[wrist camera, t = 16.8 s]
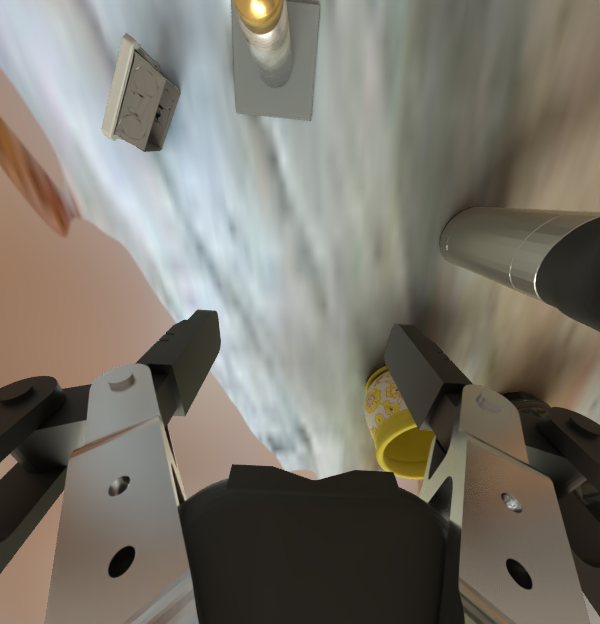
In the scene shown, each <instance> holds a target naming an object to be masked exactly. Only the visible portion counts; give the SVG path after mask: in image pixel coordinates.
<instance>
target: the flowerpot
mask: <svg viewBox="0 0 600 624" xmlns="http://www.w3.org/2000/svg"><path fill="white" fill-rule="evenodd" d="M365 391H366V397H365V403H364V410H365V417H366V421H367V424H368V427H369V430H370V433H371V435H372V437H373V439H374V444H375V447H376V457H377V460H378V462H379V464H380V466H381V467H382V468H383V469H384V470H385V471H387V472H394V475H395V476H398V477H402V478H408V479H424V475H425V471H426V466H427V461H428V457H429V452H430V448H431V443H432V440H433V438H434V436H435V434H434V432H433V431H430V430H419V429H418V427H417V425H416V423H415V421H414V420H413V418H412V416H411V414H410V412H409V410H408V408H407V406H406V404H405V402H404V400H403V398H402V396H401V394H400V392H399V390H398V388H397V386H396V384H395V382H394V380H393V378H392V376H391V374H390V372H389V370H388V368H387V367H386V366H383V367H381V368H380V369H378V370H377V371H375V372H374V373H373V374H372V376H371V377H370V378H369V380H368V382H367V384H366V388H365Z"/></svg>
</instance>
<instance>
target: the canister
mask: <svg viewBox="0 0 600 624" xmlns="http://www.w3.org/2000/svg"><path fill="white" fill-rule="evenodd" d="M233 4H234V8H235V12H236V15H237V18H238V20H239V23H240V26H241V28H242V31H243V33H244V36H245V38H246V41H247V44H248V46H249V49H250V51H251V54H252V57H253V59H254V62H255V64H256V67H257V69H258V72H259V75H260V77H261V79H262V80H263V82H264V83H265V84H266V85H268V86H269V87H272V88H279V87H282V86H283V85H285V84H286V83H287V81H288V80H289V78H290V76H291V73H292V67H293V60H292V50H291V40H290V31H289V21H288V11H287V1H286V0H233Z"/></svg>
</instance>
